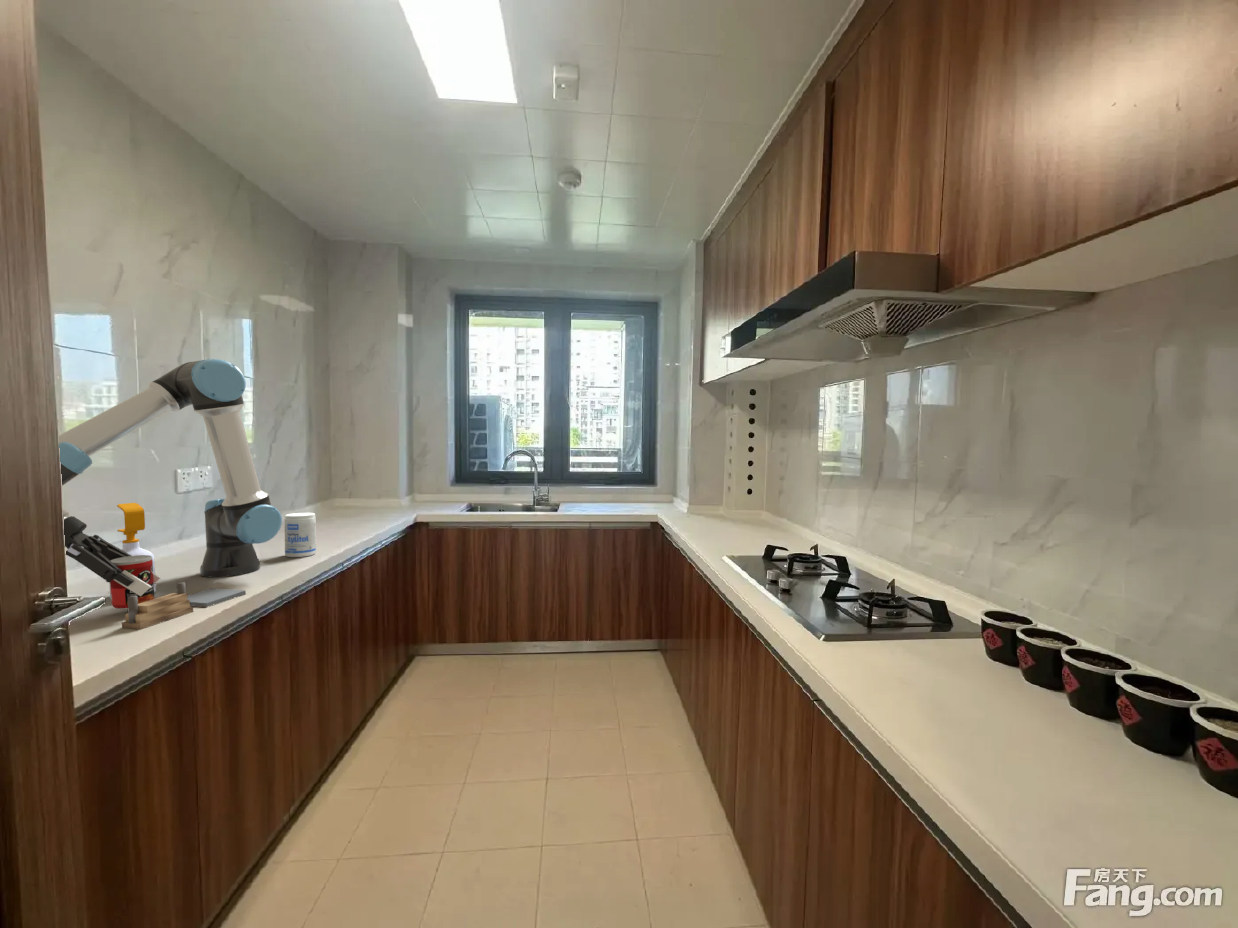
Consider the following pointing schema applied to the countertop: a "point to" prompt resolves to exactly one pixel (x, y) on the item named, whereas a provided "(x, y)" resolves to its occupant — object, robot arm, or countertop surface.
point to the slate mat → (213, 596)
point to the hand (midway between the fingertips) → (151, 586)
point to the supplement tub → (300, 534)
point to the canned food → (137, 567)
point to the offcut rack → (157, 609)
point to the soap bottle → (133, 531)
